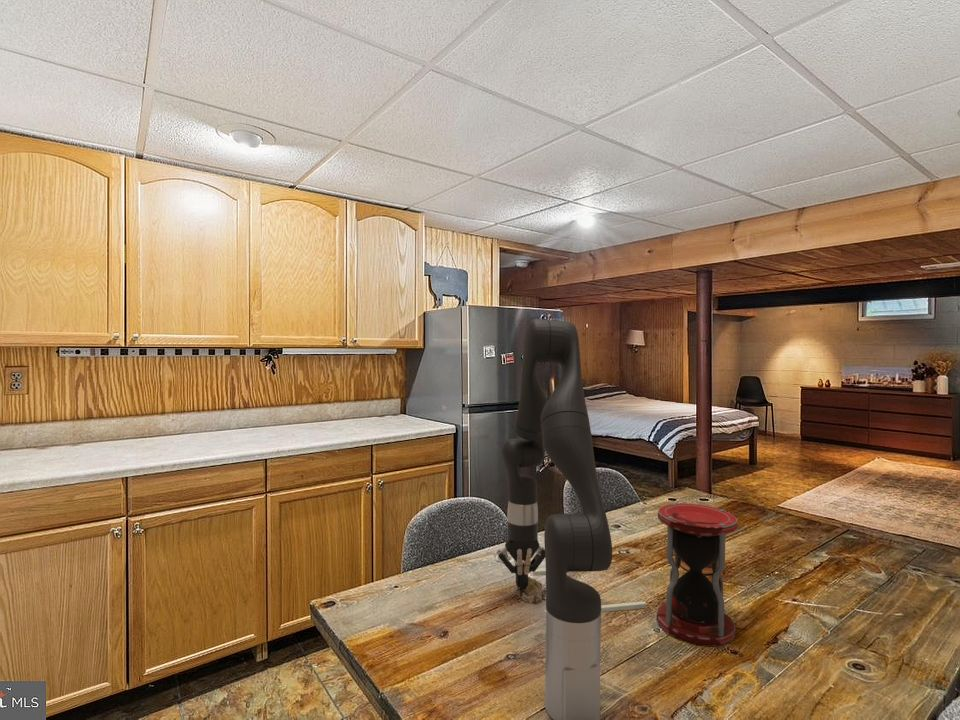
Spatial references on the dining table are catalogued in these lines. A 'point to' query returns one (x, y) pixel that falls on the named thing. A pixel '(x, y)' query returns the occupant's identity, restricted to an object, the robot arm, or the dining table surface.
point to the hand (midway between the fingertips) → (521, 587)
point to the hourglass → (696, 574)
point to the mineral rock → (531, 591)
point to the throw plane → (605, 607)
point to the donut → (705, 571)
